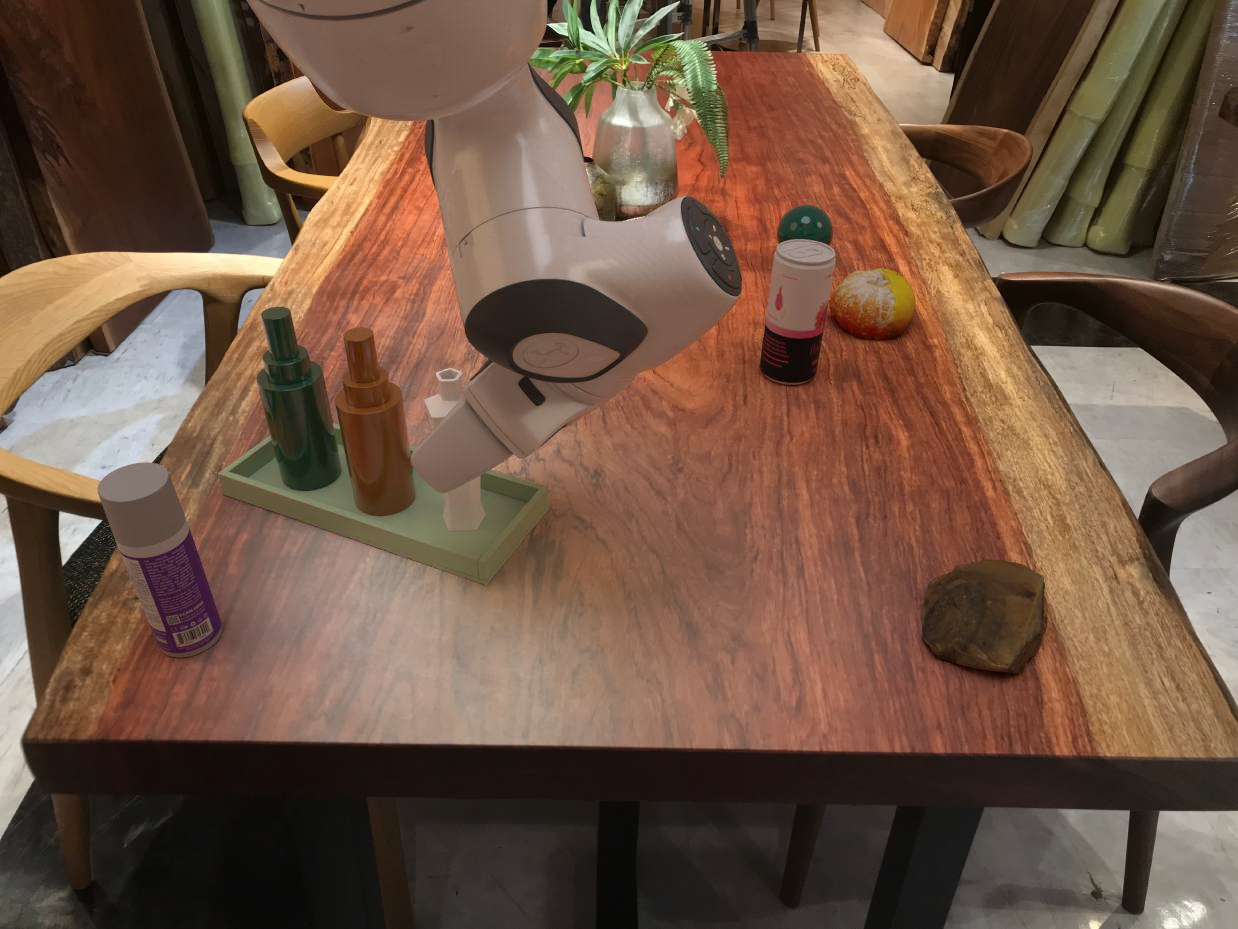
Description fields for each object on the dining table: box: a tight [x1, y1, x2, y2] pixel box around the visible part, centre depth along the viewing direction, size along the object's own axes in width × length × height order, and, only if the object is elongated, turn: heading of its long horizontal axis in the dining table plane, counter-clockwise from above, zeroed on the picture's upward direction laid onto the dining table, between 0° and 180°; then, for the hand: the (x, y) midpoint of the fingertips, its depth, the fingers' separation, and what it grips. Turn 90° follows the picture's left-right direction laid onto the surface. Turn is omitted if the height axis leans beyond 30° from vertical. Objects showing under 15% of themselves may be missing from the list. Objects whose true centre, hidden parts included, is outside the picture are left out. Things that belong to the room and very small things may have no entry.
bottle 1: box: [256, 306, 342, 491], centre depth 81 cm, size 6×6×17 cm
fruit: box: [828, 267, 917, 341], centre depth 113 cm, size 11×10×8 cm
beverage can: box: [759, 239, 837, 386], centre depth 100 cm, size 7×7×15 cm
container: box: [96, 462, 223, 659], centre depth 65 cm, size 5×5×15 cm
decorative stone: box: [920, 559, 1049, 674], centre depth 71 cm, size 10×9×4 cm
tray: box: [217, 422, 551, 586], centre depth 83 cm, size 28×11×2 cm, turn 66°
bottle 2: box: [334, 326, 416, 516], centre depth 78 cm, size 6×6×17 cm
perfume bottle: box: [424, 367, 486, 531], centre depth 76 cm, size 5×4×15 cm
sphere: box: [776, 203, 834, 247], centre depth 129 cm, size 8×8×8 cm
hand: (457, 438), depth 75 cm, fingers open, 8 cm apart
